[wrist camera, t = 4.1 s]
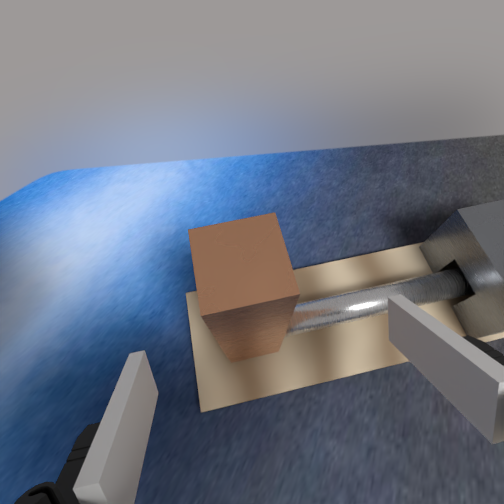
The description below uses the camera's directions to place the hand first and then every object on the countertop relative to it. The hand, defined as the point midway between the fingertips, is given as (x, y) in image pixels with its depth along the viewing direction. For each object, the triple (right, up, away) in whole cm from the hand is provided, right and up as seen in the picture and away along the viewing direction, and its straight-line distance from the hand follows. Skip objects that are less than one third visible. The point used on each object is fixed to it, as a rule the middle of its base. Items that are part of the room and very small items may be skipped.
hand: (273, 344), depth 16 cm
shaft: (+7, 0, +10) cm, 12 cm away
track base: (+10, 0, +12) cm, 16 cm away
